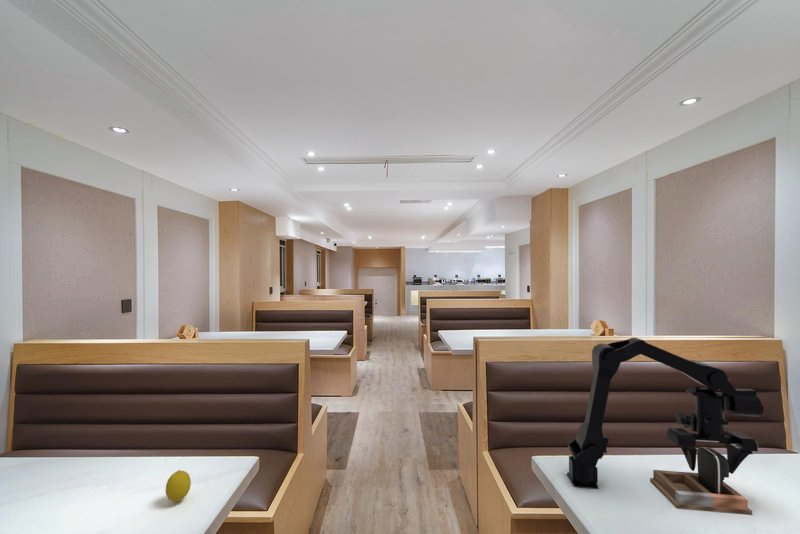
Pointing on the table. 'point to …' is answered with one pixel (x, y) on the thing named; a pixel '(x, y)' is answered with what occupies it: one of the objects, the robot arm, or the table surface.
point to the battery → (711, 469)
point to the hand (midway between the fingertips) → (711, 471)
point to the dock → (697, 493)
